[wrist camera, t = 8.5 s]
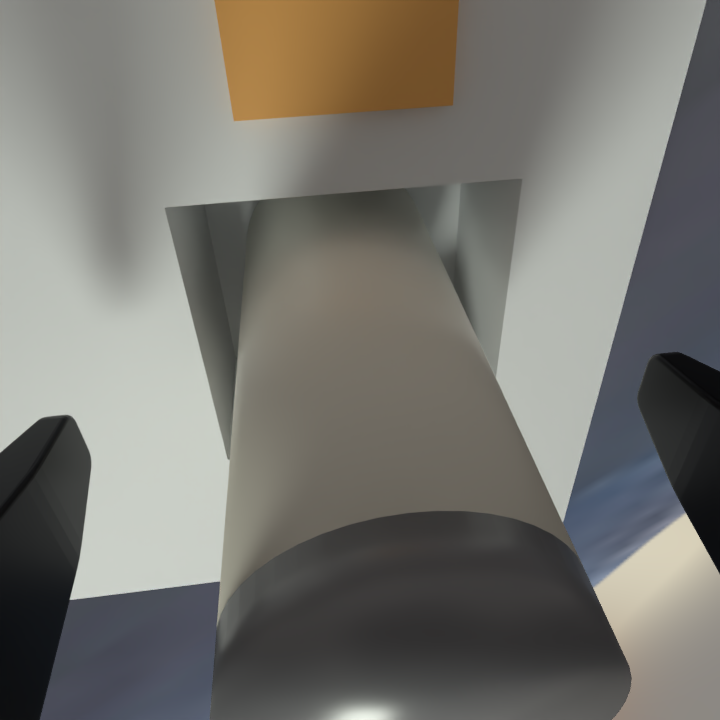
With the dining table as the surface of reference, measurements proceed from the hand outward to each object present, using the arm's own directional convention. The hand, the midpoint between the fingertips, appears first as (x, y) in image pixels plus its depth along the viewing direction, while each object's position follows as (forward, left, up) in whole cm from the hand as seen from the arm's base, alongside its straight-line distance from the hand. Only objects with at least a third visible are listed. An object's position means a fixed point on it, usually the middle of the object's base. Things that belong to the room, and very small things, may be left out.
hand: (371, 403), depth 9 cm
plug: (0, 0, -5) cm, 5 cm away
